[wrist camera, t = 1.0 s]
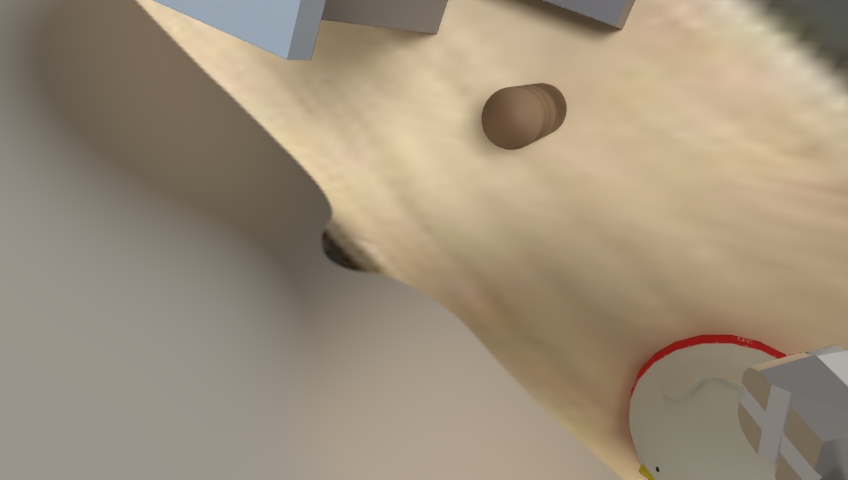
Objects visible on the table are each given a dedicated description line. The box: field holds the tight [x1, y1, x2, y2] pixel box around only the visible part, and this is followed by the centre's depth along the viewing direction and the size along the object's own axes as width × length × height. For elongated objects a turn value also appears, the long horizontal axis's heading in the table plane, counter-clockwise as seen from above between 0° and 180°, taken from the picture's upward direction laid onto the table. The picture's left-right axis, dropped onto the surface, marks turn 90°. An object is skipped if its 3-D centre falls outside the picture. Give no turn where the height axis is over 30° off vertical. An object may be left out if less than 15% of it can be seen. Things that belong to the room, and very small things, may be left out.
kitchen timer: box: [629, 335, 787, 480], centre depth 41 cm, size 14×14×15 cm
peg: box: [482, 83, 567, 150], centre depth 43 cm, size 4×4×9 cm
